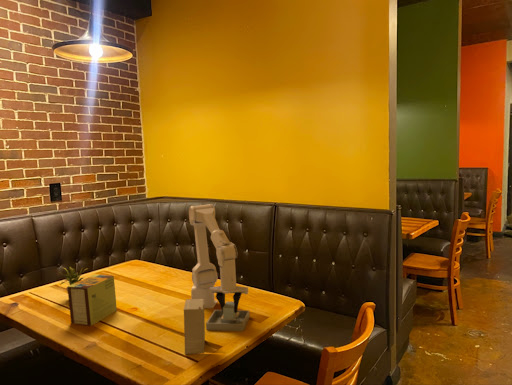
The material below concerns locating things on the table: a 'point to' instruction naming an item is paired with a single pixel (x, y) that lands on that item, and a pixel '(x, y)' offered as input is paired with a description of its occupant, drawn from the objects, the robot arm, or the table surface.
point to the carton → (229, 310)
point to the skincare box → (194, 326)
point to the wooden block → (231, 321)
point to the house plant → (72, 276)
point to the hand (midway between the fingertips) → (230, 311)
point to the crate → (216, 324)
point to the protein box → (92, 299)
